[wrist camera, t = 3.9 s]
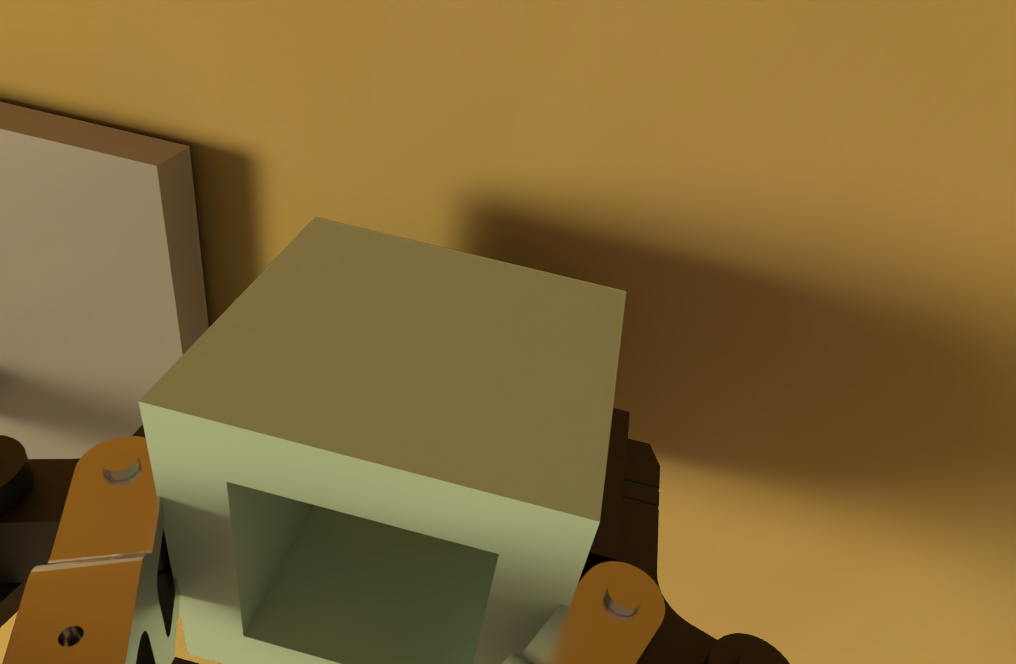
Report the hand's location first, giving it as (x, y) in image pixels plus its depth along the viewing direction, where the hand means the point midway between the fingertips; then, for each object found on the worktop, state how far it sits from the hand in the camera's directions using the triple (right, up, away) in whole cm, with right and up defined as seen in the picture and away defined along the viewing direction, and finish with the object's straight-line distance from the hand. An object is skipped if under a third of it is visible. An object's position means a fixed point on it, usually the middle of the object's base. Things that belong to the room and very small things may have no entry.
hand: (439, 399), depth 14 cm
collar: (0, 0, +1) cm, 1 cm away
